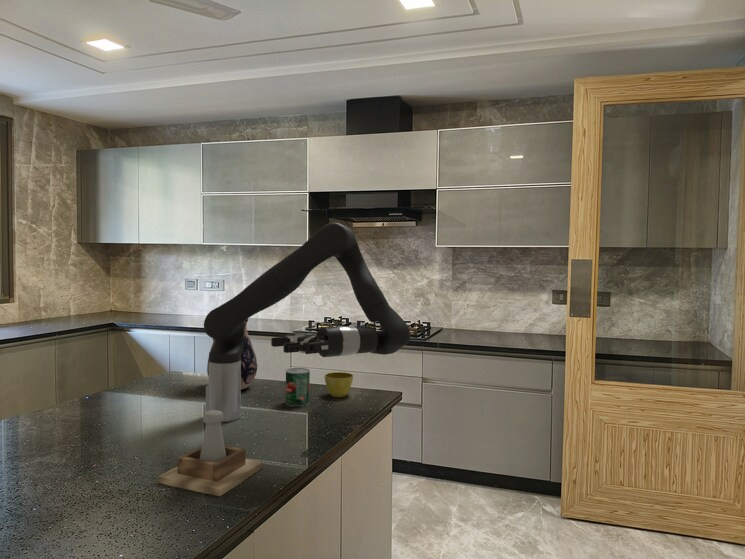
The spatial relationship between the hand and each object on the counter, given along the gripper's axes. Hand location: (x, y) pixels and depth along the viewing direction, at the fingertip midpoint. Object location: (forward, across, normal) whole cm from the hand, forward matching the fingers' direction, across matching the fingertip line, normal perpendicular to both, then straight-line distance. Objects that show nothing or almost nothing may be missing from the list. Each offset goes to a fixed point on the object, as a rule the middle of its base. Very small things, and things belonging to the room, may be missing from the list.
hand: (277, 345), depth 133 cm
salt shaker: (+16, +3, +27) cm, 31 cm away
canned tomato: (-23, -42, +28) cm, 56 cm away
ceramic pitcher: (-8, -72, +28) cm, 78 cm away
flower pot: (-40, -46, +28) cm, 67 cm away
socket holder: (+16, +3, +28) cm, 32 cm away
